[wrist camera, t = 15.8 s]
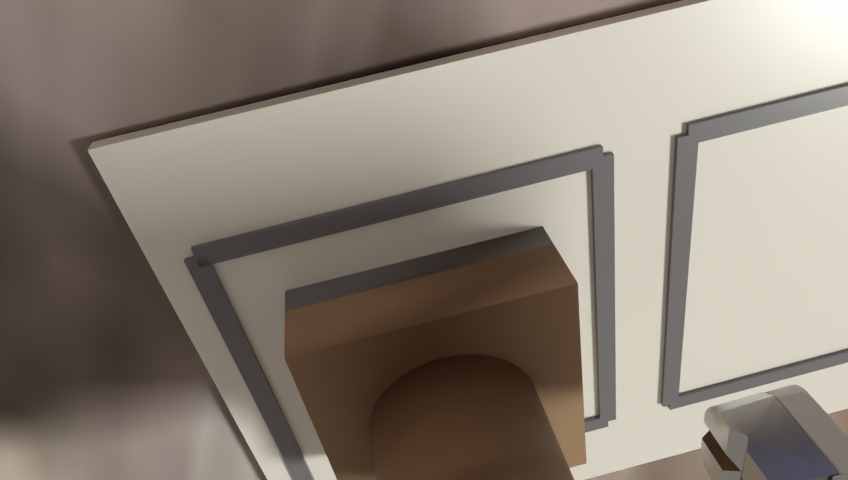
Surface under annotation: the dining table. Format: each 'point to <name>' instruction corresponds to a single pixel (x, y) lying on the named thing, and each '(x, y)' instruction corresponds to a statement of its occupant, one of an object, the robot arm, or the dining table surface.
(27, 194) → the dining table surface
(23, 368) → the dining table surface
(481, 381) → the stamp
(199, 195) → the print card
